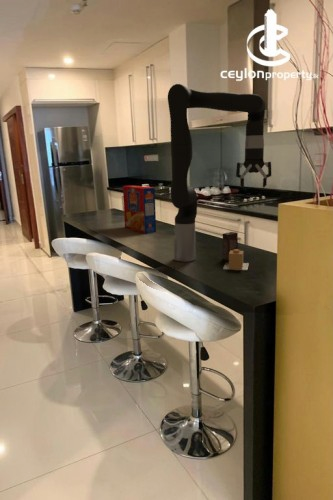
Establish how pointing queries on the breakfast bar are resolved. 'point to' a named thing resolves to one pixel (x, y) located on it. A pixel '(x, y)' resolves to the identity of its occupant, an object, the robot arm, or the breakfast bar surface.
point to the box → (229, 243)
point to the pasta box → (139, 208)
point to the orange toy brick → (236, 258)
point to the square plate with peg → (244, 268)
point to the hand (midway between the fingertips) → (253, 187)
